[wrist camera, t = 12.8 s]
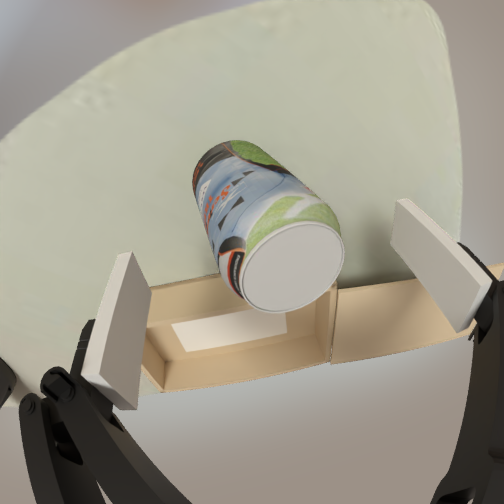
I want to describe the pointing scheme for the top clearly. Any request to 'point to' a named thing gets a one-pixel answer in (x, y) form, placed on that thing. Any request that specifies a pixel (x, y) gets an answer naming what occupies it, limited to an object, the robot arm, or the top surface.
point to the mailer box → (229, 336)
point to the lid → (390, 320)
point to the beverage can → (266, 228)
